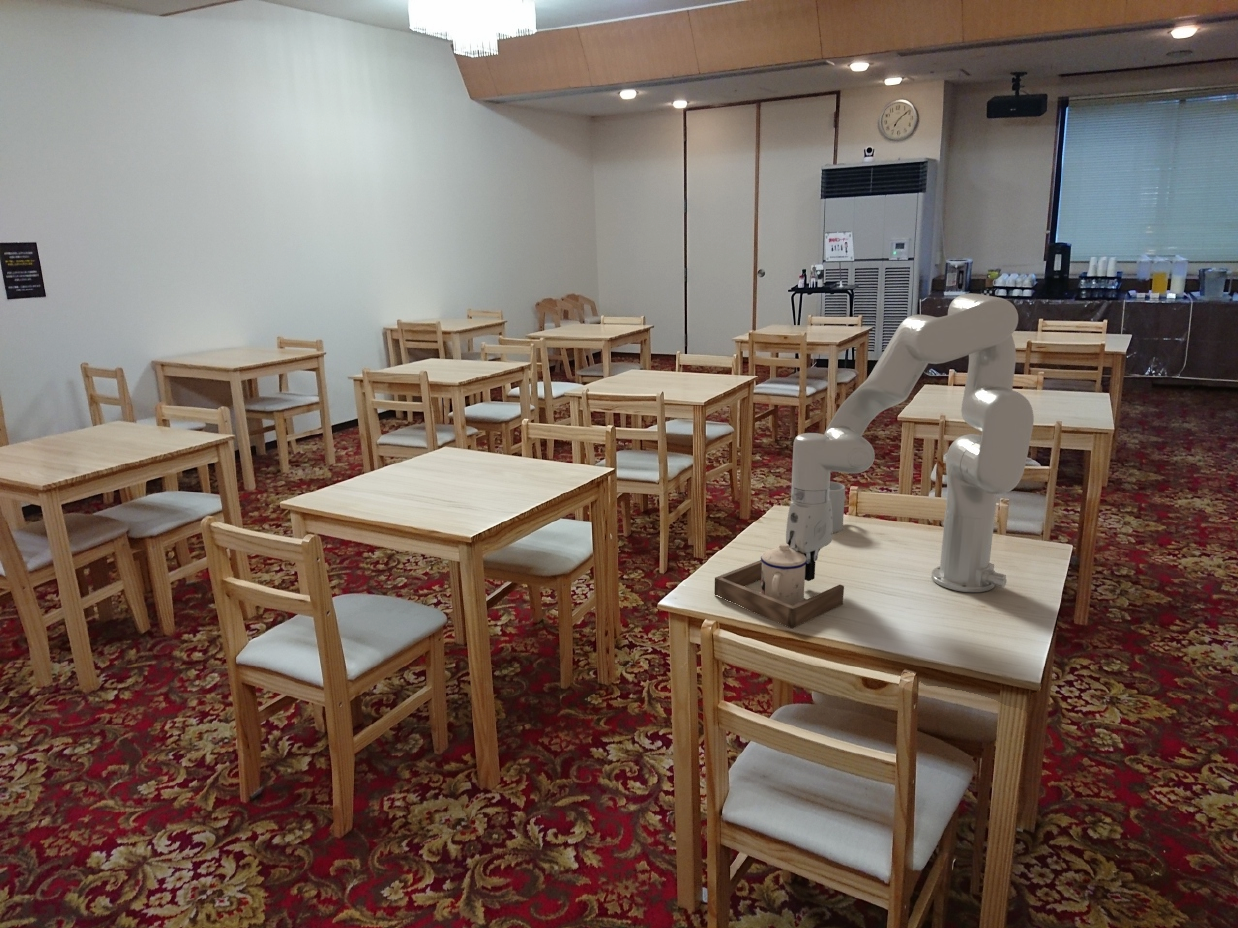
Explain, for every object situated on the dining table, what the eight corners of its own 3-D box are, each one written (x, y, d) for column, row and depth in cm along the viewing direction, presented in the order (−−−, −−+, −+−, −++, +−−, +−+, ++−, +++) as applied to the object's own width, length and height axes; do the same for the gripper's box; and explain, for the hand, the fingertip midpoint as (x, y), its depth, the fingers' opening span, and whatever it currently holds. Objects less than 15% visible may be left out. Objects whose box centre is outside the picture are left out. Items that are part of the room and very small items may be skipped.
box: (842, 604, 170) (844, 585, 169) (792, 628, 160) (793, 609, 159) (765, 575, 184) (765, 557, 183) (714, 595, 174) (714, 577, 173)
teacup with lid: (765, 586, 179) (767, 534, 176) (808, 592, 175) (811, 539, 172) (750, 609, 168) (752, 554, 165) (796, 616, 165) (799, 560, 161)
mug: (831, 535, 208) (833, 493, 205) (801, 527, 213) (803, 486, 210) (856, 523, 216) (859, 482, 213) (826, 516, 222) (829, 476, 219)
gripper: (801, 506, 165) (797, 593, 170) (847, 491, 174) (842, 574, 179) (771, 497, 171) (768, 582, 175) (817, 483, 180) (813, 564, 185)
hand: (805, 578), depth 177 cm, fingers closed
